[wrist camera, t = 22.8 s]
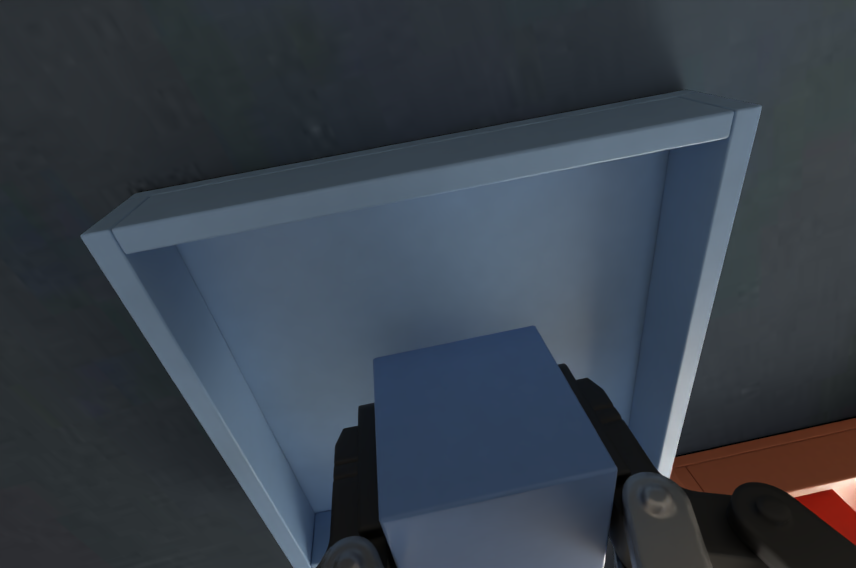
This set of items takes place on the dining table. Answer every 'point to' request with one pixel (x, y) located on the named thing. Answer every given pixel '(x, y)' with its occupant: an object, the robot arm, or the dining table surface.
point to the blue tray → (433, 277)
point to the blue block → (488, 458)
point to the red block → (832, 511)
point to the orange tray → (778, 463)
